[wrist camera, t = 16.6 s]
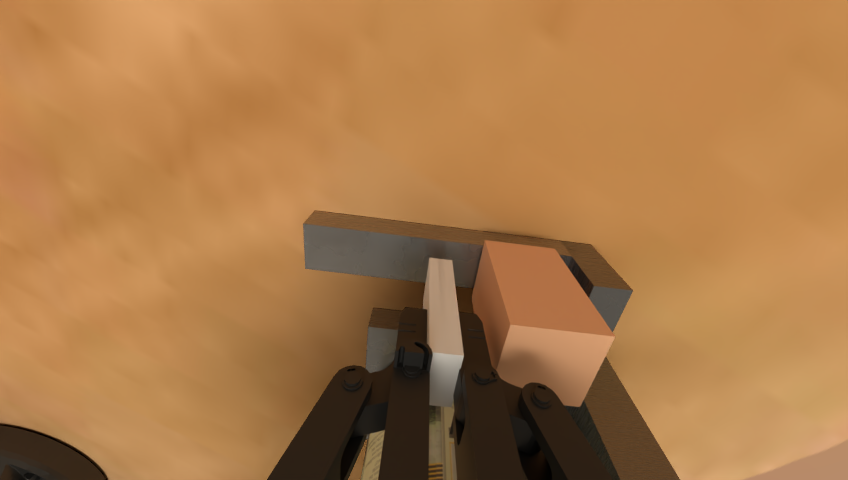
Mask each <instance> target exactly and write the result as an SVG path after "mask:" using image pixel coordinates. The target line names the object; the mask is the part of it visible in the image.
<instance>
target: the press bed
mask: <svg viewBox="0 0 848 480" xmlns="http://www.w3.org/2000/svg"><path fill="white" fill-rule="evenodd" d="M401 312H402V311H396V310H388V309H379V308H373V310H372V314H371V318H370V322H369V326H368V338H367V355H366V369H367V370H368V371H369V373H372V372H377V371H381V370H383V369H385V368H387V367H388V366H390V365H391V364H392V362H393V360H394V357H395V350H396V343H397V335H398V326H399V318H400V313H401ZM564 406H565V408H566V409H567V411H568V412H569V414H570V415H571V417H572V418H573V420H574V421H575V423H576V424H577V426H578V427H579V429H580V430H581V432H582V433H583V435H584V436H585V438H586V439H587V441H588V443H589V444H590V446H591V447H592V449H593V450H594V452H595V453H596V455H597V456H598V458H599V459H600V461H601V462H602V464H603V465H604V467H605V468H606V470H607V471H608V473H609V474H610V476H611V477H612V479H613V480H680V479H679V477H678V476H677V474H676V472H675V471H674V469H673V467H672V466H671V464H670V462H669V461H668V459H667V457H666V456H665V454H664V452H663V451H662V449H661V447H660V446H659V444H658V443H657V441H656V439H655V438H654V436H653V434H652V433H651V431H650V429H649V428H648V426H647V424H646V423H645V421H644V419H643V418H642V416H641V414H640V413H639V411H638V409H637V408H636V406H635V404H634V403H633V401H632V400H631V398H630V396H629V395H628V393H627V391H626V390H625V388H624V386H623V385H622V383H621V381H620V380H619V378H618V376H617V375H616V373H615V371H614V370H613V368H612V366H611V365H610V363H609V361H608V360H607V358H606V357H605V358H604V360H603V362H602V364H601V366H600V368H599V370H598V372H597V374H596V376H595V378H594V380H593V382H592V384H591V386H590V388H589V390H588V392H587V394H586V396H585V398H584V400H583V402H582V404H581V406H580V407H575V406H566V405H564ZM368 435H369V434H368ZM368 435H367V438H366V439H368Z"/></svg>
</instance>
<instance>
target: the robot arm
mask: <svg viewBox="0 0 848 480" xmlns="http://www.w3.org/2000/svg"><path fill="white" fill-rule="evenodd" d="M453 399H454V415H453V419H452V423H451V427H450V434H453V433H454V446H455V459H456V472H457V480H613V479H612V477H611V476H610V474H609V473H608V471H607V470H606V468H605V467H604V465H603V464H602V462H601V461H600V459H599V458H598V456H597V455H596V453H595V452H594V450H593V449H592V447H591V446H590V444H589V443H588V441H587V439H586V438H585V436H584V435H583V433H582V432H581V430H580V429H579V427H578V426H577V424H576V423H575V421H574V420H573V418H572V417H571V415H570V414H569V412H568V411H567V409H566V408H565V406H564V405H563V403H562V402H561V400H560V399H559V397H558V396H557V395H556V394H555V392H554V391H553V390H552V389H550V388H549V387H547V386H546V385H543V384H540V383H535V382H531V383H528V384H526V385H525V386H524V387H523V388H520V387H518V386H515V385H512V384H510V383H508V382H506V381H504V380H503V379H501V378H500V376H499V374H498V372H497V371H496V370H495V369H494V368H493V367H492V365H491V360H490V355H489V351H488V346H487V341H486V337H485V332H484V327H483V323H482V321H481V320H480V318H479V317H478V316H477V314H472V313H463V312H458V304H457V296H456V288H455V279H454V271H453V263H452V260H445V259H437V258H429V264H428V270H427V277H426V284H425V291H424V297H423V309H419V308H409V307H405V308H404V310H403V311H402V312H401V313H400V318H399V326H398V335H397V343H396V350H395V357H394V360H393V362H392V364H391V365H390V366H388V367H387V368H385V369H383V370H381V371H377V372H372V373H369V371H368V370H367V369H365V368H363V367H361V366H355V365H353V366H347V367H345V368H343V369H341V370H339V371H338V372H337V373H336V374H335V376H334V377H333V379H332V380H331V382H330V383H329V385H328V386H327V388H326V389H325V391H324V393H323V394H322V396H321V397H320V399H319V400H318V402H317V403H316V405H315V406H314V408H313V409H312V411H311V413H310V414H309V416H308V417H307V419H306V420H305V422H304V423H303V425H302V426H301V428H300V430H299V431H298V433H297V434H296V436H295V437H294V439H293V440H292V442H291V443H290V445H289V447H288V448H287V450H286V451H285V453H284V454H283V456H282V457H281V459H280V460H279V462H278V463H277V465H276V467H275V468H274V470H273V471H272V473H271V474H270V476H269V477H268V479H267V480H348V478H349V476H350V474H351V471H352V469H353V467H354V465H355V462H356V460H357V458H358V456H359V453H360V451H361V449H362V447H363V444H364V442H365V440H366V438H367V435H368V434H371V433H375V432H379V431H383V430H385V432H384V440H383V447H382V454H381V462H380V469H379V476H378V480H429V405H432V406H443V407H452V403H453ZM0 480H106V479H105V478H104V476H103V475H102V473H101V472H100V471H99V470H98V469H97V468H96V467H95V466H94V465H93V464H92V463H91V462H90V461H88V460H87V459H86V458H85V457H83V456H82V455H80V454H79V453H77V452H75V451H74V450H72V449H70V448H69V447H67V446H65V445H63V444H61V443H59V442H56V441H54V440H52V439H49V438H47V437H44V436H42V435H39V434H36V433H33V432H29V431H26V430H22V429H18V428H13V427H7V426H0Z"/></svg>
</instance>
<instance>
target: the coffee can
mask: <svg viewBox="0 0 848 480" xmlns="http://www.w3.org/2000/svg"><path fill="white" fill-rule="evenodd" d="M453 415H454V399H453V403H452V407H443V406H432V405H429V480H457V472H456V459H455V446H454V433H453V434H450V427H451V423H452V419H453ZM384 432H385V430H383V431H379V432H375V433H371V434H369V435H368V441H367V447H366V452H365V458H364V464H363V469H362V475H361V480H378V476H379V469H380V462H381V454H382V447H383V440H384Z"/></svg>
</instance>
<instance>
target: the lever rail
mask: <svg viewBox="0 0 848 480" xmlns="http://www.w3.org/2000/svg"><path fill="white" fill-rule="evenodd" d="M303 228H304V250H305V269H313V270H321V271H330V272H338V273H347V274H355V275H364V276H372V277H381V278H389V279H398V280H406V281H415V282H423V283H426V277H427V270H428V264H429V258H437V259H445V260H452V263H453V271H454V279H455V286H457V287H466V288H474V285H475V281H476V276H477V272H478V268H479V263H480V259H481V254H482V250H483V246H484V241H485V240H488V241H496V242H504V243H513V244H521V245H529V246H537V247H545V248H554V249H555V250H556V251H557V252H558V254H559V255H560V257H561V258H562V260H563V261H564V263H565V264H566V266H567V267H568V268H569V270H570V271H571V273H572V274H573V276H574V277H575V279H576V280H577V282H578V283H579V284H580V286H581V287H582V289H583V290H584V292H585V293H586V295H587V296H588V298H589V299H590V300H591V302H592V303H593V305H594V306H595V308H596V309H597V311H598V312H599V314H600V315H601V316H602V318H603V319H604V321H605V322H606V324H607V325H608V327H609V328H610V330H611V331H612V332H613V330H614V328H615V326H616V324H617V322H618V320H619V318H620V316H621V314H622V312H623V310H624V308H625V306H626V304H627V302H628V300H629V298H630V296H631V294H632V292H633V290H632V289H631V288H630V287H629V286H628V285H627V283H626V282H625V281H624V280H623V279H622V278H621V277H620V276H619V275H618V274H617V273H616V271H615V270H614V269H613V268H612V267H611V266H610V265H609V264H608V263H607V262H606V260H605V259H604V258H603V257H602V256H601V255H600V254H599V253H598V252H597V251H596V250H595V248H594V247H593V246H592V245H590V244H582V243H574V242H566V241H558V240H550V239H542V238H533V237H525V236H517V235H509V234H501V233H493V232H485V231H477V230H468V229H460V228H452V227H444V226H436V225H428V224H420V223H412V222H403V221H395V220H387V219H379V218H371V217H363V216H355V215H347V214H338V213H330V212H322V211H314V212H313V213H312V214H311V215H310V217H309V218H308V219H307V220H306V221H305V222H304V223H303Z"/></svg>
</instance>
